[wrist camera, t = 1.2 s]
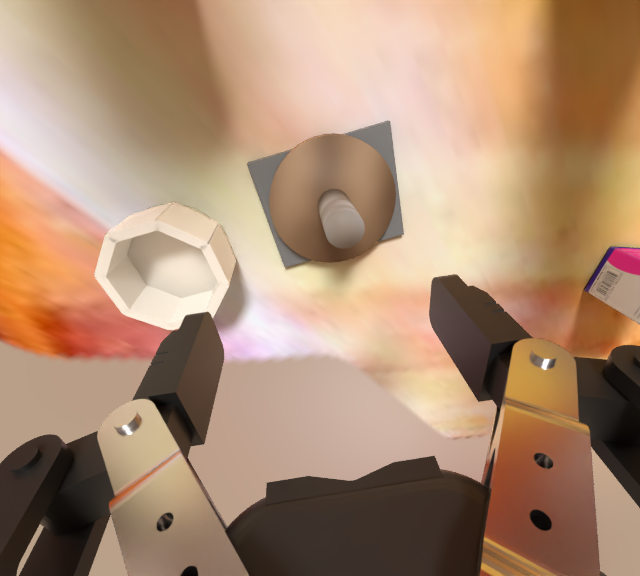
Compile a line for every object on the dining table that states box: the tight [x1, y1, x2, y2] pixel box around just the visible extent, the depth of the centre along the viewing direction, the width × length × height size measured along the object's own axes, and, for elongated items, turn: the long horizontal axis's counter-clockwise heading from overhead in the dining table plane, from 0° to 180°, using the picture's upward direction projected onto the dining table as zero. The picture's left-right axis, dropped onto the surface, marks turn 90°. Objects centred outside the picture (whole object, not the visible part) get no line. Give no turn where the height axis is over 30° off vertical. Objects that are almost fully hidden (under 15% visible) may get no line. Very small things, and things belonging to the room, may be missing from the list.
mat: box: [247, 121, 404, 267], centre depth 28 cm, size 12×10×1 cm
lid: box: [269, 134, 396, 262], centre depth 25 cm, size 11×11×7 cm
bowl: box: [94, 202, 236, 330], centre depth 28 cm, size 10×10×5 cm
